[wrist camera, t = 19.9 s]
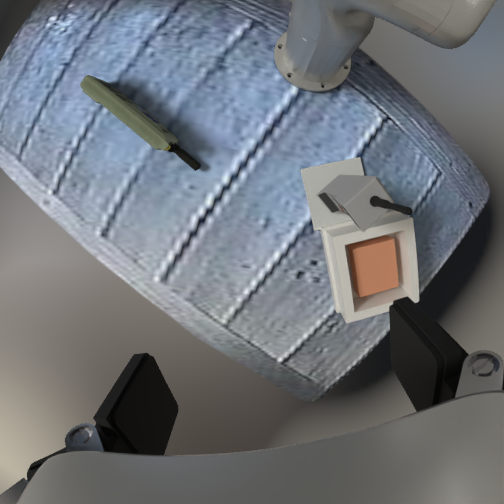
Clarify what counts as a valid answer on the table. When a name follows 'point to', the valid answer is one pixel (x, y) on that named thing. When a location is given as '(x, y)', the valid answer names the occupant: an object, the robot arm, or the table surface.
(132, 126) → the handheld radio
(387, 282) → the button
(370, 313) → the frame
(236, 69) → the table surface
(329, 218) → the light gray square panel
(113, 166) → the table surface
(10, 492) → the robot arm
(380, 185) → the vintage mobile phone
